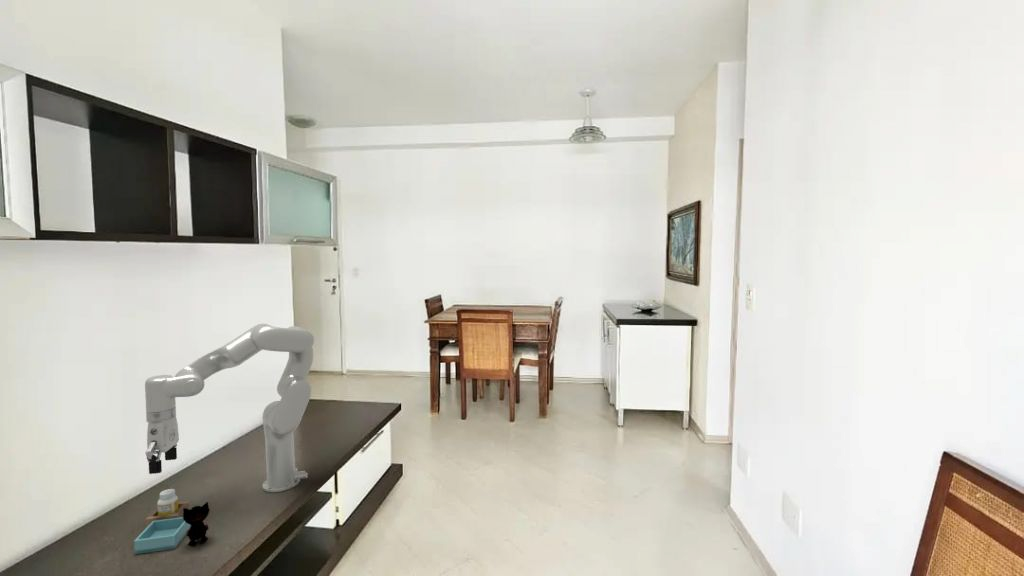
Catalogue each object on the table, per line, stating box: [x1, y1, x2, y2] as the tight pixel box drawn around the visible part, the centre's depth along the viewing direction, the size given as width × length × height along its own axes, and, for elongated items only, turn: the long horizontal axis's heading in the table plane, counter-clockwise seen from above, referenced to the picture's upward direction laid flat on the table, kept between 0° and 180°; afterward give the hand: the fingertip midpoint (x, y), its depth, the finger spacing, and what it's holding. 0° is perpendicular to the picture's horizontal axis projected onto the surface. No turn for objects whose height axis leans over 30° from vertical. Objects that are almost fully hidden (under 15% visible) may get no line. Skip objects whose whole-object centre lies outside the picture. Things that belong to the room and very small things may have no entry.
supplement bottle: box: [156, 488, 179, 516], centre depth 146 cm, size 5×5×10 cm
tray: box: [133, 517, 191, 555], centre depth 136 cm, size 10×10×4 cm
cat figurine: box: [183, 501, 210, 547], centre depth 135 cm, size 7×7×12 cm
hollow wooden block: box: [145, 500, 191, 529], centre depth 147 cm, size 9×9×4 cm
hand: (163, 466), depth 145 cm, fingers open, 9 cm apart
